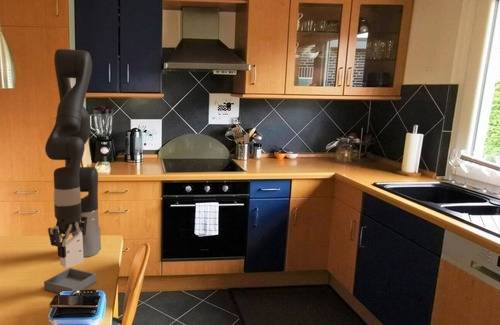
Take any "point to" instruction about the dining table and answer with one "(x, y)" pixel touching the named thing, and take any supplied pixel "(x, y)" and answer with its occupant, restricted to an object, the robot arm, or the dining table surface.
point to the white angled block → (73, 251)
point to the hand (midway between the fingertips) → (69, 253)
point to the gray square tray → (70, 281)
